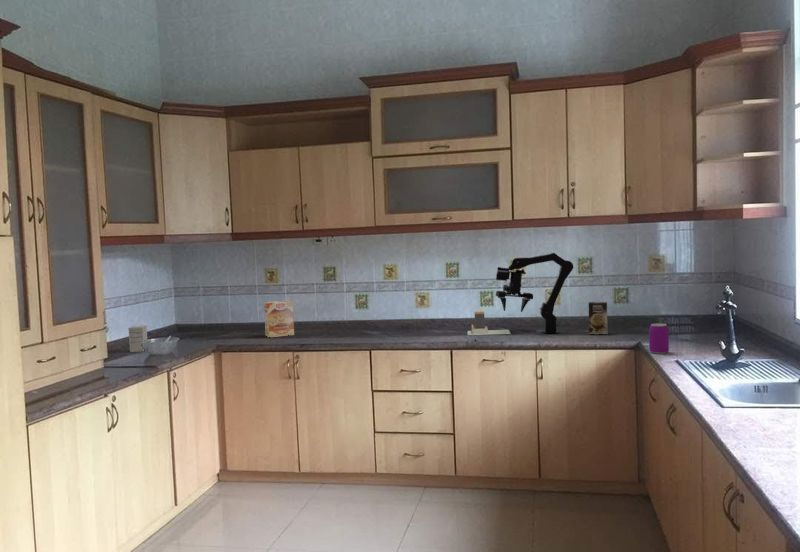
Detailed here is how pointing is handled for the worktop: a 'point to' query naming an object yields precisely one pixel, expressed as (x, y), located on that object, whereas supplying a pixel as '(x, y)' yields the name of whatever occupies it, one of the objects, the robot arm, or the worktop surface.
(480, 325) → the plug
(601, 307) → the coffee box
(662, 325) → the beverage can
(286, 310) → the coffeecake box
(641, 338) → the worktop surface
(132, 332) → the supplement box
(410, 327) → the worktop surface
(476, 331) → the board
